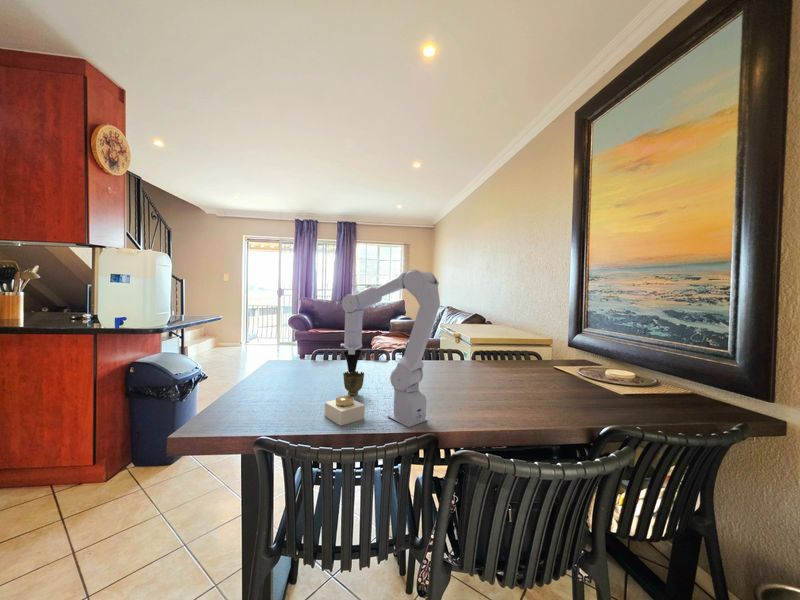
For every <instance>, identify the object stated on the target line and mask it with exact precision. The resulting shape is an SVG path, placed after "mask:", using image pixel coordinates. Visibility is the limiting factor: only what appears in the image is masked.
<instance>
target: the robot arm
mask: <svg viewBox="0 0 800 600" xmlns="http://www.w3.org/2000/svg"><path fill="white" fill-rule="evenodd" d="M439 284H440V283H439V281H438V279H437V278H436V276H435V275H434V274H433V273H432V272H431V271H423V270H418V269H415V268H414V269H410V270H408V271H405V272H402V273H400V274H399V275H398V276H395V277H393V278H392V279H390V280H387V281H386V282H385V283H384V282H383V284H381V285H378V286H377V285H375V284H367V285H365V286H366V288H364V289H362V290H357V291H355V293H354V294H351V293H348V294H346V295H345V296H344V297H343V298H342V300H341V308H342V309H343V311H344V338H343V339H344V342H343V343H340V347H342V348H344V351H343V355H344V357H345V360H346V365H347V371H348V372H351V373H352V372H355V371H356V372H357V367H358V362H359V361H358V360H359V358H360V356H361V354H362V349H361V348H362V347H363V342H362V340H363V317H364V311H365V310H366V309H367V308H369V307H371V306H375V305H376V304H378V303H380V302H381V301H382V298H383V297H385V296H387V295H391V294H392V293H395V292H397V291H400V290H402V289H405V290H406V291H408V293H410V294H411V296H413V297H414V298H415V300H416V301H417V303H418V305H419V307H418V310H417V312H416V317H415V319H414V324H413V326H412V329H411V331H410V332H411V333H410V336H409V338H408V341H407V345H406V348H405V351H404V354H403V356H402V357H401V358H400V360H399V361H398V362H397V364H396V367H395V368H394V370H392V372H391V374H390V384H391V386H392V388H393V390H394V395H393V397H394V398H393V412H392V413H389V414H387V415H386V417H388V418H390V419H392V420H393V421H395V422H398V423H399V424H401V425H404V426H405V427H407V428H410V427H413V426H416V425H419V424H421V423H424V422H427V421H428V418H427V417H426V416H427V397H426V395H425V394H424V393H422V392H421V391H420V388H419V387H420V385H419V384H420V383H421V381H422V380H423V377H424V371H423V370H424V365H425V363H424V362H423V361H422V360H423V356H424V355H425V352H426V347H427V345H428V342H429V339H430V336H431V333H432V330H433V327H434V323H435V320H436V318H437V315H438V313H439V309H440V305H441V299H440V294H439V288H438V287H439Z"/></svg>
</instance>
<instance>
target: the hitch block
mask: <svg viewBox="0 0 800 600" xmlns="http://www.w3.org/2000/svg"><path fill="white" fill-rule="evenodd" d="M365 407H366V405H365V404H363V403H361V402H359V401H358V400H355V399H354V404H353V405H352V406H349V407H340V406H337V405H336V399H331V400H328V401H325V402H324V414H323V415H324V416H325V417H326V418H327V419H329V420H330V421H332V422H334V423H335V424H337V425H339V426H341V427H342V426H345V425H348V424H352V423H355V422H357V421H361V420H364V419H365Z"/></svg>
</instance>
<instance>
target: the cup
mask: <svg viewBox="0 0 800 600" xmlns="http://www.w3.org/2000/svg"><path fill="white" fill-rule="evenodd" d="M342 374H343V384H344V389H345V390H346V391H347V394H348V395H347V396H351V397H357V396H358V395H359V391H361V389H362V388H363V386H364V385H363V384H364V381H365V372H363V371H360V373H359V371H358V370H356V371H355V372H349V371H348V370H347V371H345V372H344V373H342Z"/></svg>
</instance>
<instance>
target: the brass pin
mask: <svg viewBox="0 0 800 600" xmlns="http://www.w3.org/2000/svg"><path fill="white" fill-rule="evenodd" d="M335 400H336V405H337V406H340V407H349V406H352V405H353V404H354V400H355V398H354V396H349V395H340V396H337V397H335Z"/></svg>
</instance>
